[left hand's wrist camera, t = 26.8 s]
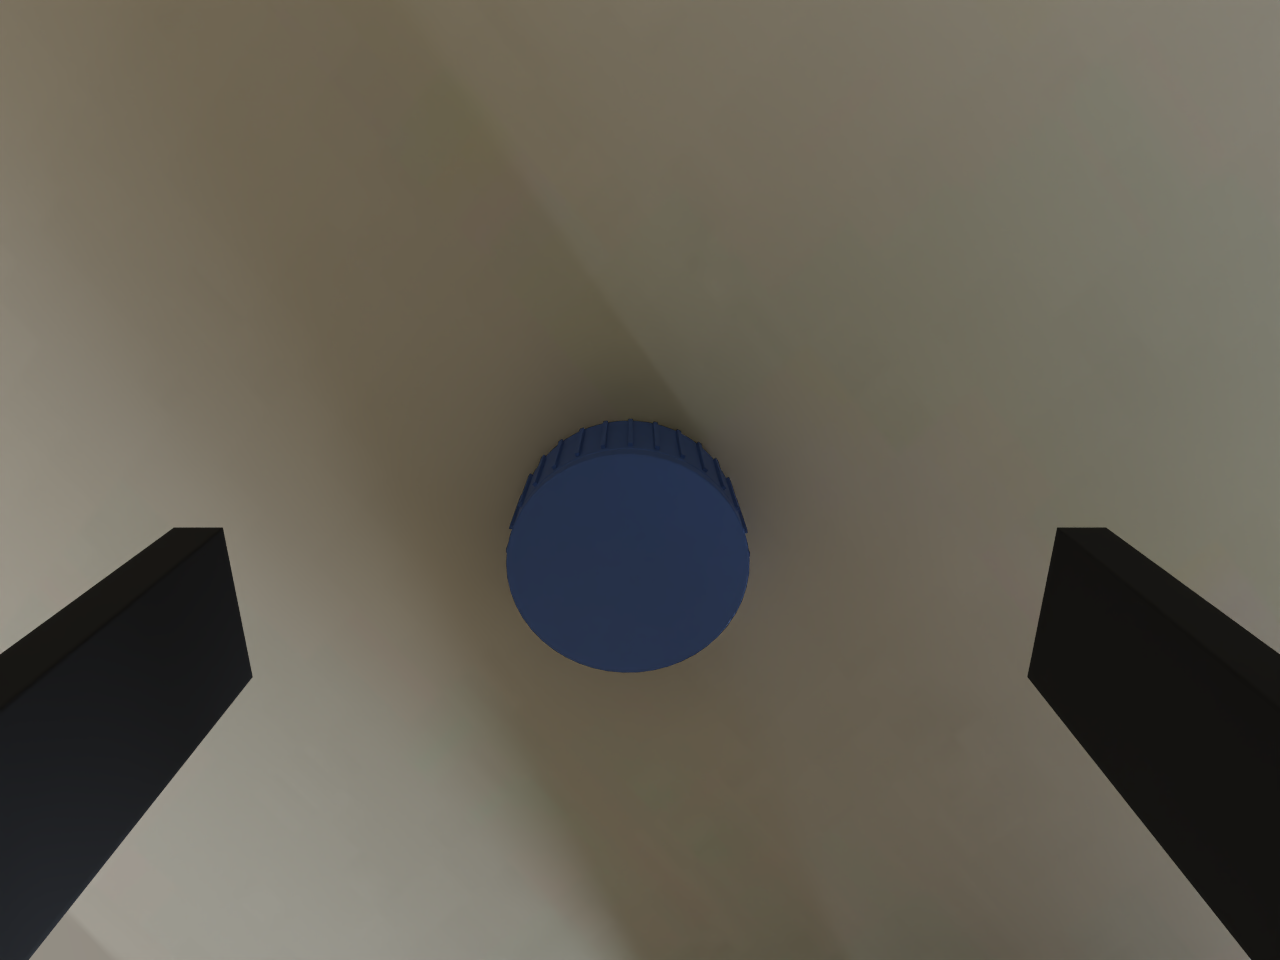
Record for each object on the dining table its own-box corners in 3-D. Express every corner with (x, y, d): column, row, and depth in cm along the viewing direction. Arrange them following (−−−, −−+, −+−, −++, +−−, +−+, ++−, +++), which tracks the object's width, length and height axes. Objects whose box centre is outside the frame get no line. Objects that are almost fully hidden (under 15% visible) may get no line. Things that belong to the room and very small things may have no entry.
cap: (782, 530, 16) (804, 576, 14) (622, 656, 17) (621, 717, 15) (636, 370, 15) (636, 397, 13) (472, 516, 16) (451, 562, 14)
